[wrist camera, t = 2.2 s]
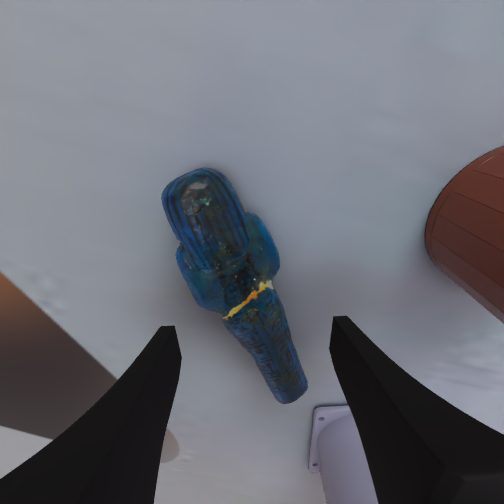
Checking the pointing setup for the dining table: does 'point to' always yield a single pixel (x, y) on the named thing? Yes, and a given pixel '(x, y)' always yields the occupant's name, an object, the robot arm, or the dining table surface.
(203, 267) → the figurine
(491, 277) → the cup
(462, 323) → the dining table surface
